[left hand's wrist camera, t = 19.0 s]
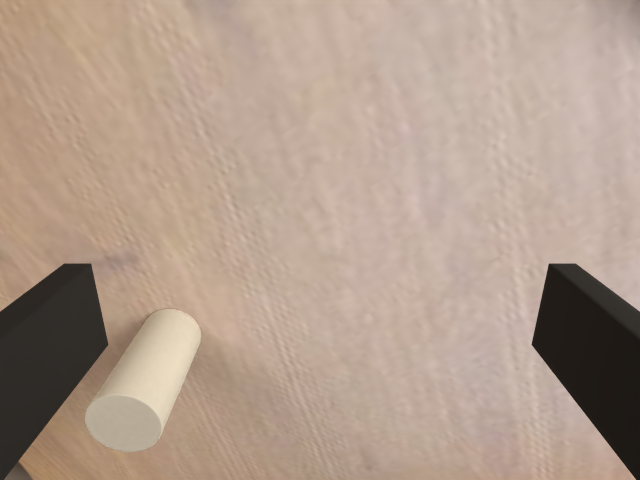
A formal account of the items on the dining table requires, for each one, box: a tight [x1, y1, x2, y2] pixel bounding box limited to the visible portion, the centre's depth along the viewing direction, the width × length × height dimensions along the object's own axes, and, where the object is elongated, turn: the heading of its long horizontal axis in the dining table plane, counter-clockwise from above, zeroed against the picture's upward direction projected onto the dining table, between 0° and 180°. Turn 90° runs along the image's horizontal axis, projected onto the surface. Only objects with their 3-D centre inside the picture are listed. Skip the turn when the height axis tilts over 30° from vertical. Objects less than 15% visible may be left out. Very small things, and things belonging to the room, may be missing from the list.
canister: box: [85, 309, 201, 452], centre depth 35 cm, size 5×5×11 cm
